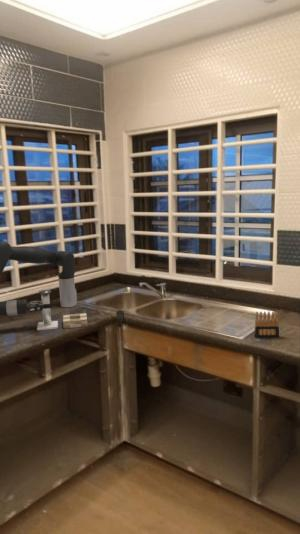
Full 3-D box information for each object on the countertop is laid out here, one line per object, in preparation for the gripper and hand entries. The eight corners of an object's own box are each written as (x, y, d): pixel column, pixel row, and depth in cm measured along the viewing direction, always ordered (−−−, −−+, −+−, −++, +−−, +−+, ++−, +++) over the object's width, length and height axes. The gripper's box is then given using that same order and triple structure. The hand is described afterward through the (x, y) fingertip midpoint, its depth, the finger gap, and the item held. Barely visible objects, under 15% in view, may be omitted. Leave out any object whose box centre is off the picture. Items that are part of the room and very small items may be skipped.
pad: (38, 324, 216) (38, 322, 215) (58, 322, 217) (57, 320, 217) (37, 330, 206) (36, 328, 206) (57, 328, 208) (57, 326, 208)
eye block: (63, 321, 219) (63, 315, 218) (86, 319, 221) (86, 313, 220) (63, 328, 207) (63, 321, 207) (87, 326, 210) (87, 319, 209)
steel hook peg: (47, 320, 215) (45, 289, 212) (55, 322, 212) (53, 290, 209) (39, 323, 211) (36, 291, 207) (47, 325, 207) (44, 293, 204)
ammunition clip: (254, 337, 185) (255, 312, 183) (254, 336, 186) (254, 310, 184) (279, 337, 184) (279, 311, 182) (278, 336, 186) (278, 310, 183)
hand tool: (116, 317, 224) (116, 308, 223) (124, 316, 224) (123, 308, 223) (113, 328, 205) (113, 319, 204) (121, 328, 205) (121, 319, 204)
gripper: (14, 303, 199) (50, 300, 203) (17, 296, 213) (51, 294, 216) (15, 318, 201) (51, 315, 204) (19, 310, 215) (52, 307, 218)
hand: (51, 304), depth 210 cm, fingers closed on steel hook peg, 4 cm apart
